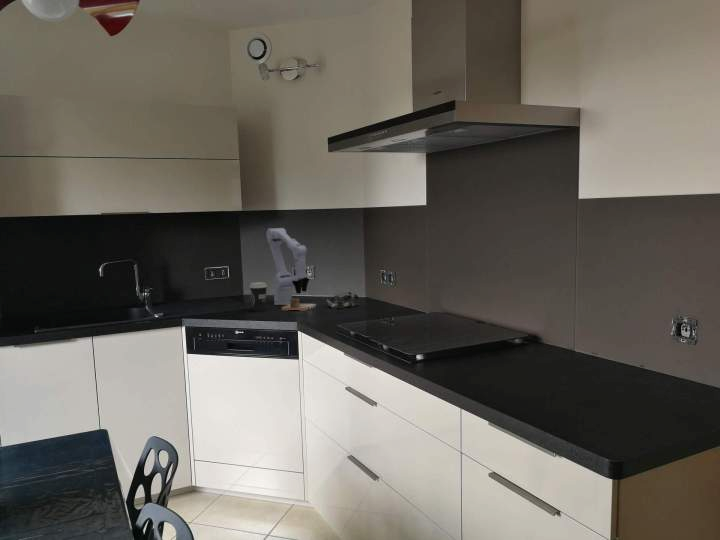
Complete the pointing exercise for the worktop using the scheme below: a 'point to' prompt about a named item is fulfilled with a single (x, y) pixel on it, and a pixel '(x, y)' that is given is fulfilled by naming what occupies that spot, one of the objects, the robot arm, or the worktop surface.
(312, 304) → the pad
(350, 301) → the foil
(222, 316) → the worktop surface
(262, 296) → the coffee cup
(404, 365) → the worktop surface
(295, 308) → the stub
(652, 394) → the worktop surface
